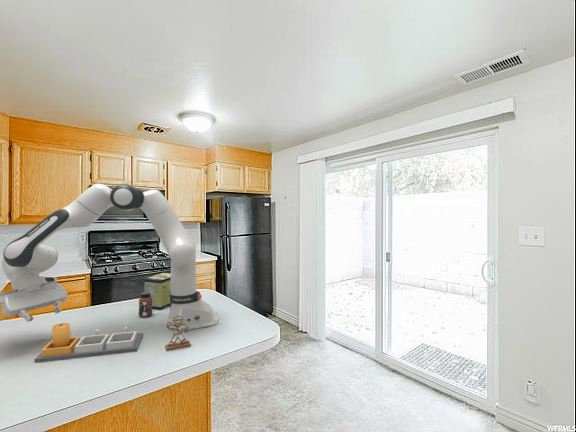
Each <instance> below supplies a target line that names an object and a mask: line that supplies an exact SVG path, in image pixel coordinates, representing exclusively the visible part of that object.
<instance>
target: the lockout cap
mask: <svg viewBox="0 0 576 432" xmlns="http://www.w3.org/2000/svg"><path fill="white" fill-rule="evenodd" d="M70 334H71V326H70V323H69V322H60V323H57V324H54V325H53V326H52V327H51V339H52V344H53V348H58V347H68V346H70Z"/></svg>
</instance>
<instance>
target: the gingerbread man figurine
mask: <svg viewBox="0 0 576 432" xmlns="http://www.w3.org/2000/svg"><path fill="white" fill-rule="evenodd" d="M176 317H181V316H176ZM176 317H174V319H175V318H176ZM181 318H182V317H181ZM174 319H173V324H174V321H176V322H177V321H180V320H182V322H183V319H178V320H177V319H175V320H174ZM167 322H168V321H167ZM167 322H166V328H167V329H168V330H169V331H172V332H173V335H172V337H171V340H170V341H169V343H168V344H167V343H166V344H165V346H164V348H165V352H170V351H175V350H180V349H184V348H185V347H186V348H189V347H191V341H190V340H187V339H186V338H185V336H184V335H183V332H184V333H188V332H189V331H190V330H189V328H185V329H184V328H181V331H180V330H179V328H177V327H180V325H186V324H182V322H181V321H180V322H181V323H180V322H179V323H180V324H179V323H176V322H175V323H176V324H174V325H172V323H171V322H168V323H171V324H170V325H168V323H167ZM177 324H179V325H178V326H177ZM167 325H168V326H167ZM171 325H172V326H175V327H176V328H177V329H176V330H177V331H176V330H175V329H174V328H170V327H169V326H171ZM186 326H187V325H186ZM187 327H188V326H187ZM182 329H183V330H184V331H182ZM187 329H188V330H187ZM175 331H176V333H175ZM179 331H180V332H179ZM179 335H181V336H182V337H183V339H180V337H179ZM175 336H177V337H176V339H175V341H173V339H174V338H175ZM178 340H179V341H178ZM177 341H178V342H177Z"/></svg>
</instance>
